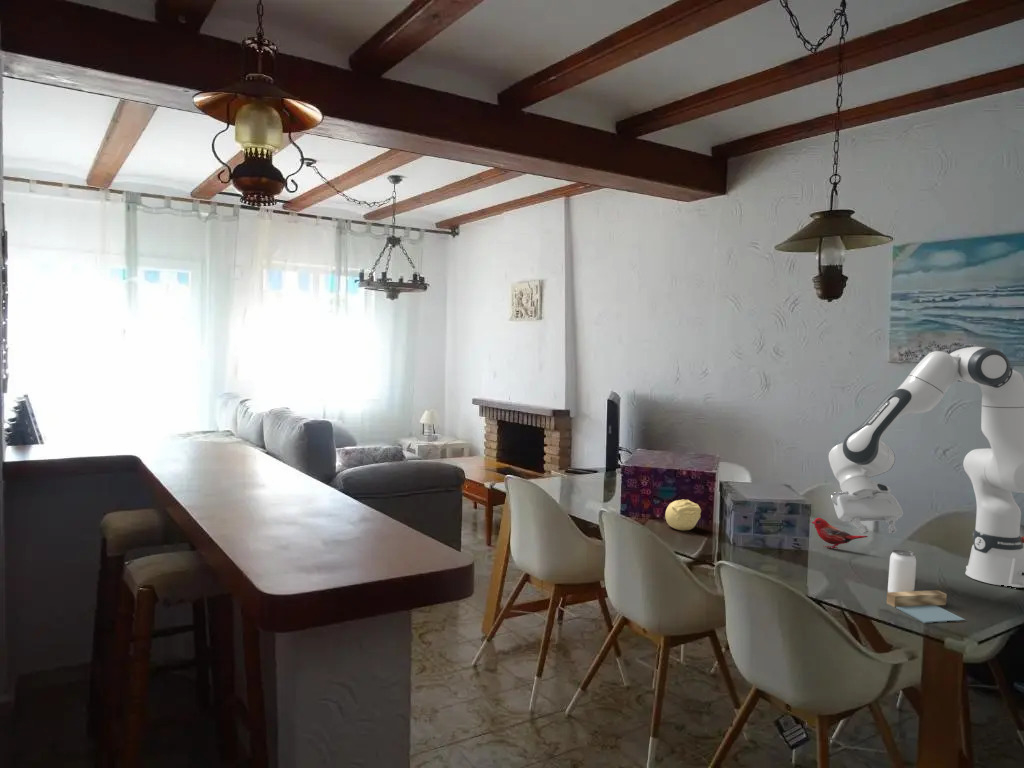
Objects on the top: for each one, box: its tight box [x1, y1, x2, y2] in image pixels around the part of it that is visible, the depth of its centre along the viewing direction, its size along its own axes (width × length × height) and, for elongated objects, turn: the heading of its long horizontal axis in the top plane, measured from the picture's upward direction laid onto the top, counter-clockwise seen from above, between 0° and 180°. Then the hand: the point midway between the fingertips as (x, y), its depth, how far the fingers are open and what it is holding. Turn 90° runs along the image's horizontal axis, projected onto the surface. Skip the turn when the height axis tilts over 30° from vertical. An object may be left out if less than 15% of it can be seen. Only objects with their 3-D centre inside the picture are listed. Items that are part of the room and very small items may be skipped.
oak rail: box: [886, 589, 947, 608], centre depth 194 cm, size 16×3×3 cm, turn 102°
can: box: [887, 549, 917, 592], centre depth 201 cm, size 6×6×12 cm
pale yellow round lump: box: [664, 499, 702, 531], centre depth 263 cm, size 12×12×11 cm
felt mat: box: [895, 605, 966, 624], centre depth 187 cm, size 12×10×1 cm
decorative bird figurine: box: [811, 517, 868, 549], centre depth 243 cm, size 3×18×10 cm, turn 59°
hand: (879, 532), depth 210 cm, fingers open, 8 cm apart
